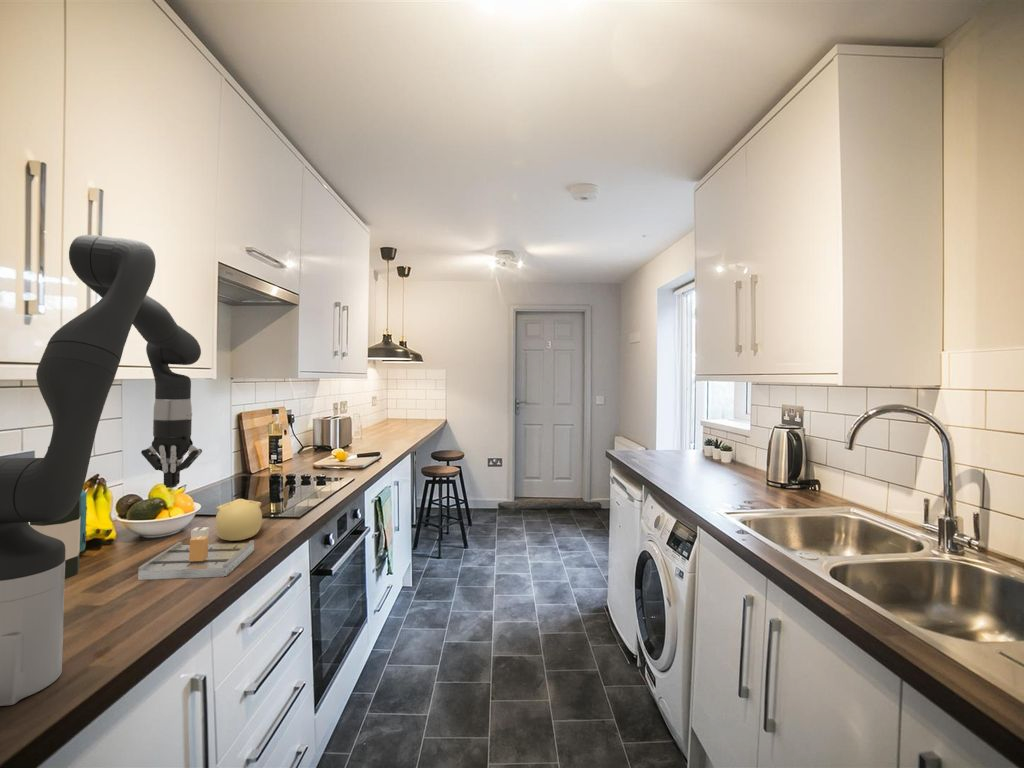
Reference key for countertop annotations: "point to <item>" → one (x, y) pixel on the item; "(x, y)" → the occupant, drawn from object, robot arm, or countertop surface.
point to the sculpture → (238, 519)
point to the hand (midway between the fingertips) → (171, 486)
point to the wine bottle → (65, 536)
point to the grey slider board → (195, 562)
